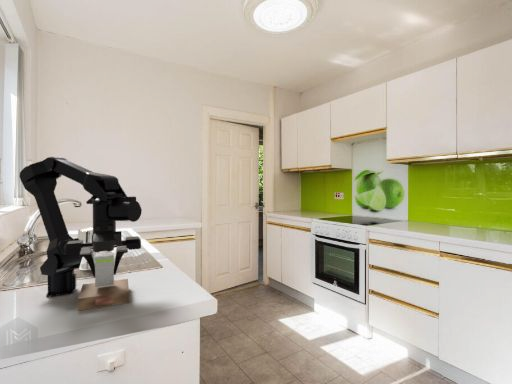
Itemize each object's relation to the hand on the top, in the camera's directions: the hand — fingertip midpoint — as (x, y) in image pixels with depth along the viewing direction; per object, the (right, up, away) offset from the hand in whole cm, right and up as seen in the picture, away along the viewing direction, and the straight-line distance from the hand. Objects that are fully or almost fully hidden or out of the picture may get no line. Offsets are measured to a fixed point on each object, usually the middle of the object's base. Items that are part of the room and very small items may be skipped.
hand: (104, 275), depth 82 cm
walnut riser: (0, -7, 0) cm, 6 cm away
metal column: (0, -2, 0) cm, 2 cm away
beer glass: (-22, -6, +30) cm, 37 cm away
